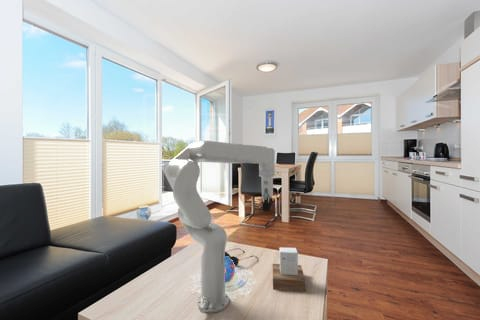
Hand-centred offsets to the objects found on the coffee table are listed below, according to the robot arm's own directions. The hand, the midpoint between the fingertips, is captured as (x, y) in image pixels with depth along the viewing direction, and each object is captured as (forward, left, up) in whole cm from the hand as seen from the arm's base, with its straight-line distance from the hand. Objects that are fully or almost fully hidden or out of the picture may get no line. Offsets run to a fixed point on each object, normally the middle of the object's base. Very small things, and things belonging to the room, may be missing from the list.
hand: (267, 208), depth 110 cm
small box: (-4, -10, -29) cm, 31 cm away
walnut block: (-3, -10, -34) cm, 35 cm away
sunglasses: (+16, +16, -34) cm, 41 cm away
